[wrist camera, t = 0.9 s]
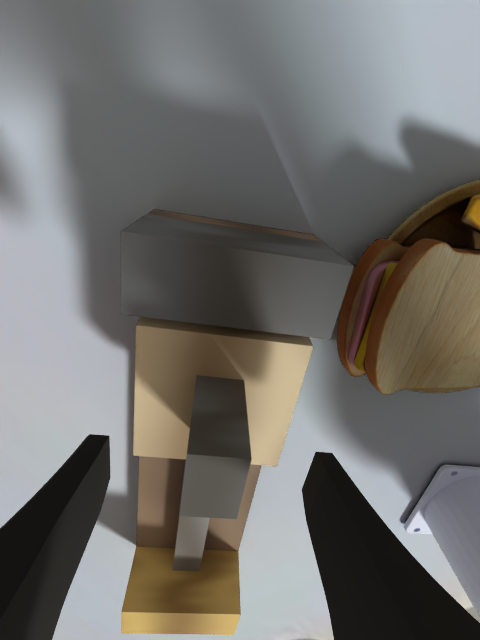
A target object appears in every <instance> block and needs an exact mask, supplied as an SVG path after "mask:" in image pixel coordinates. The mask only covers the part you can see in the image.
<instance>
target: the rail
mask: <svg viewBox="0 0 480 640" xmlns="http://www.w3.org/2000/svg"><path fill="white" fill-rule="evenodd" d="M353 268H354V266H353V265H352V264H351V263H349V262H348V261H347V260H346V259H344V258H343V257H342V256H340V255H339V254H338V253H337V252H335V251H334V250H333V249H332V248H330V247H329V246H328V245H326V244H325V243H324V242H323V241H321V240H320V239H319V238H318V237H316V236H315V235H312V234H306V233H299V232H293V231H287V230H281V229H274V228H268V227H262V226H255V225H249V224H243V223H237V222H230V221H224V220H218V219H211V218H205V217H199V216H193V215H186V214H180V213H174V212H167V211H161V210H155V209H154V210H152V211H151V212H149V213H148V214H146V215H145V216H143V217H142V218H140V219H139V220H137V221H136V222H134V223H133V224H131V225H130V226H128V227H127V228H125V229H124V230H122V231H121V314H124V315H132V316H140V317H149V318H157V319H165V320H173V321H181V322H190V323H198V324H206V325H214V326H222V327H231V328H239V329H247V330H255V331H264V332H272V333H280V334H288V335H296V336H305V337H313V338H321V339H329V340H330V339H331V335H332V332H333V329H334V326H335V323H336V320H337V317H338V314H339V311H340V308H341V305H342V302H343V299H344V296H345V293H346V289H347V286H348V283H349V280H350V277H351V274H352V271H353ZM185 464H186V459H172V458H159V457H145V456H139V482H138V512H137V542H136V550H135V555H134V559H133V564H132V568H131V572H130V577H129V581H128V586H127V590H126V594H125V599H124V603H123V607H122V612H121V633H148V634H222V635H234V633H235V630H236V627H237V624H238V621H239V618H240V615H241V613H240V587H239V560H238V550H239V546H240V543H241V539H242V535H243V532H244V528H245V524H246V521H247V517H248V513H249V510H250V506H251V502H252V499H253V495H254V491H255V488H256V484H257V480H258V477H259V473H260V469H261V465H253V464H250V468H249V472H248V476H247V480H246V484H245V488H244V492H243V496H242V500H241V504H240V508H239V512H238V516H237V519H224V518H205V517H187V516H179V512H180V504H181V496H182V488H183V480H184V472H185Z"/></svg>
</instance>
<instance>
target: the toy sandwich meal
mask: <svg viewBox="0 0 480 640" xmlns="http://www.w3.org/2000/svg"><path fill="white" fill-rule="evenodd" d="M337 345H338V354H339V358H340V361H341V363H342V365H343V366H344V368H345V369H346V370H347V371H348V372H349V373H350V374H351V375H352V376H354V377H359V376H362V375H364V374H367V377H368V379H369V381H370V382H371V383H372V385H373V386H374V387H375V388H376V389H377V390H378V391H379V392H381V393H382V394H385V395H386V394H392V393H394V392H396V391H398V390H402V389H408V390H412V391H417V392H424V393H447V392H454V391H460V390H465V389H469V388H472V387H479V386H480V179H479V180H476V181H472V182H469V183H466V184H463V185H461V186H459V187H456V188H454V189H451V190H449V191H447V192H445V193H443V194H441V195H439V196H438V197H436V198H434V199H433V200H431V201H430V202H428V203H427V204H425V205H424V206H422V207H421V208H420V209H418V210H417V211H416V212H414V213H413V214H412V215H411V216H410V217H408V218H407V219H406V220H405V221H404V222H403V223H402V224H401V225H400V226H399V227H398V228H397V229H396V230H395V231H394V232H393V233H392V234H391V235H390V237H389V238H388V239H378V240H376V241H375V242H373V243H372V244H371V245H370V246H369V247H368V248H367V250H366V251H365V252H364V253H363V255H362V256H361V258H360V260H359V261H358V263H357V265H356V267H355V269H354V271H353V273H352V275H351V278H350V280H349V283H348V286H347V289H346V293H345V296H344V299H343V302H342V305H341V309H340V314H339V320H338V329H337Z"/></svg>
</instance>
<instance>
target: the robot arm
mask: <svg viewBox="0 0 480 640" xmlns="http://www.w3.org/2000/svg"><path fill="white" fill-rule="evenodd" d="M109 480H110V446H109V436H105V435H92V434H90V435H89V436H87V437H86V438H85V440H84V441H83V442H82V443H81V445H80V446H79V447H78V448H77V449H76V451H75V452H74V453H73V454H72V455H71V456H70V457H69V459H68V460H67V461H66V462H65V463H64V464H63V465H62V466H61V468H60V469H59V470H58V471H57V472H56V473H55V474H54V475H53V476H52V477H51V478H50V479H49V481H48V482H47V483H46V484H45V485H44V486H43V487H42V488H41V489H40V490H39V491H38V492H37V493H36V494H35V495H34V496H33V497H32V498H31V499H30V500H29V501H28V502H27V503H26V504H25V505H24V506H23V507H22V508H21V509H20V510H19V511H18V512H17V513H16V514H15V515H14V516H13V517H12V518H11V519H10V520H9V521H8V522H7V523H6V524H5V525H4V526H2V527H1V528H0V640H52V638H53V634H54V631H55V628H56V625H57V622H58V619H59V616H60V613H61V609H62V607H63V604H64V601H65V598H66V596H67V593H68V590H69V588H70V585H71V583H72V580H73V578H74V575H75V573H76V570H77V568H78V566H79V563H80V561H81V558H82V556H83V553H84V551H85V548H86V546H87V543H88V541H89V538H90V536H91V533H92V531H93V528H94V526H95V523H96V521H97V518H98V516H99V513H100V511H101V508H102V504H103V501H104V498H105V494H106V491H107V487H108V484H109ZM302 494H303V501H304V508H305V515H306V521H307V525H308V529H309V533H310V537H311V541H312V545H313V549H314V553H315V557H316V560H317V564H318V568H319V572H320V576H321V580H322V584H323V587H324V591H325V595H326V600H327V604H328V609H329V613H330V619H331V624H332V630H333V636H334V640H480V623H479V622H478V621H477V620H476V619H474V618H473V617H472V616H471V615H470V614H469V613H468V612H467V611H466V610H465V609H464V608H463V607H462V606H461V605H460V604H459V603H458V602H457V601H456V600H455V599H454V598H453V597H452V596H451V595H450V594H449V593H448V592H447V591H446V590H445V589H444V588H443V587H442V586H441V585H440V584H439V583H438V582H437V581H436V580H435V579H434V578H433V577H432V576H431V575H430V574H429V573H428V572H427V571H426V570H425V569H424V568H423V567H422V565H421V564H420V563H419V562H418V561H417V560H416V559H415V558H414V557H413V556H412V555H411V554H410V552H409V551H408V550H407V549H406V548H405V547H404V546H403V545H402V543H401V542H400V541H399V540H398V539H397V537H396V536H395V535H394V534H393V533H392V531H391V530H390V529H389V528H388V527H387V525H386V524H385V523H384V522H383V520H382V519H381V518H380V517H379V515H378V514H377V513H376V512H375V510H374V509H373V508H372V506H371V505H370V504H369V503H368V501H367V500H366V499H365V497H364V496H363V495H362V493H361V492H360V491H359V489H358V488H357V487H356V485H355V484H354V482H353V481H352V480H351V478H350V477H349V476H348V474H347V473H346V471H345V470H344V469H343V467H342V466H341V465H340V463H339V462H338V460H337V459H336V458H335V456H334V455H333V454H332V453H325V452H316V453H315V456H314V458H313V461H312V464H311V466H310V469H309V472H308V474H307V477H306V480H305V483H304V485H303V488H302ZM404 529H405V531H406V532H408V533H420V534H433V536H434V537H435V539H436V541H437V543H438V544H439V546H440V548H441V550H442V552H443V553H444V555H445V557H446V559H447V560H448V562H449V564H450V566H451V567H452V569H453V571H454V573H455V575H456V576H457V578H458V580H459V582H460V583H461V585H462V587H463V589H464V591H465V592H466V594H467V596H468V598H469V599H470V601H471V603H472V605H473V606H474V608H475V610H476V612H477V614H478V615H479V617H480V467H471V466H459V465H443V466H441V467H440V468H439V470H438V471H437V473H436V475H435V476H434V478H433V479H432V481H431V483H430V484H429V486H428V487H427V489H426V491H425V492H424V494H423V495H422V497H421V499H420V500H419V502H418V503H417V505H416V507H415V508H414V510H413V511H412V513H411V515H410V516H409V518H408V520H407V521H406V523H405V524H404Z"/></svg>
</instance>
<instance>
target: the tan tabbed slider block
mask: <svg viewBox="0 0 480 640" xmlns="http://www.w3.org/2000/svg"><path fill="white" fill-rule="evenodd" d="M312 349H313V345H312V343H311V341H310V339H309V337H305V336H296V335H288V334H280V333H272V332H264V331H255V330H247V329H239V328H231V327H222V326H214V325H206V324H198V323H190V322H181V321H173V320H165V319H157V318H149V317H140V319H139V321H138V323H137V325H136V352H135V399H134V445H133V456H145V457H159V458H172V459H186V464H185V472H184V480H183V488H182V496H181V504H180V512H179V516H187V517H205V518H224V519H237V516H238V512H239V508H240V504H241V500H242V496H243V492H244V488H245V484H246V480H247V476H248V472H249V468H250V464H253V465H267V466H277V465H278V461H279V458H280V455H281V452H282V448H283V445H284V442H285V438H286V435H287V432H288V428H289V425H290V422H291V419H292V415H293V412H294V409H295V405H296V402H297V399H298V395H299V392H300V389H301V386H302V382H303V379H304V376H305V372H306V369H307V366H308V362H309V359H310V356H311V353H312Z"/></svg>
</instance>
